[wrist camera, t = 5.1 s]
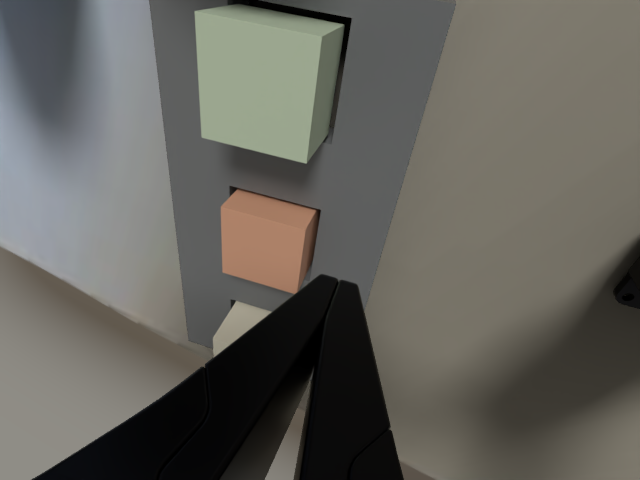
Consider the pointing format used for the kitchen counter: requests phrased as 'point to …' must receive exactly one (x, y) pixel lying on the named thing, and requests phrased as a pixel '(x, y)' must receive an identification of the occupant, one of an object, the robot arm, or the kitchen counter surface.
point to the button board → (291, 176)
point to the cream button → (237, 324)
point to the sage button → (266, 79)
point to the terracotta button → (268, 239)
